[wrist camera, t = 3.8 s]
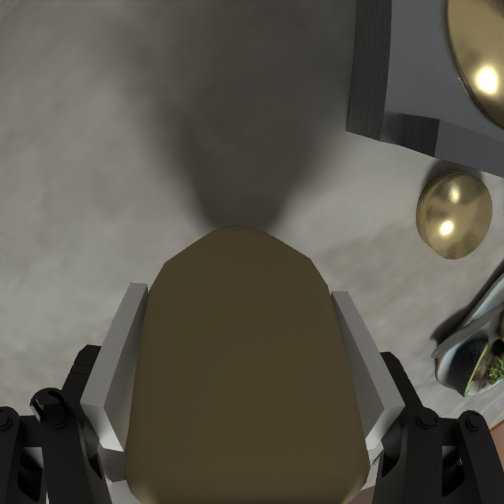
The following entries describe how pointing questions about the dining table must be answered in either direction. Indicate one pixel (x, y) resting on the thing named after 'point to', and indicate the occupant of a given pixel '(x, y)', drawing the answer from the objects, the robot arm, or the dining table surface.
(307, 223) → the dining table surface
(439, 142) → the grey rimmed block
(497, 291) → the avocado toast plate
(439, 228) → the brass dome knob
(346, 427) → the squeeze bottle
